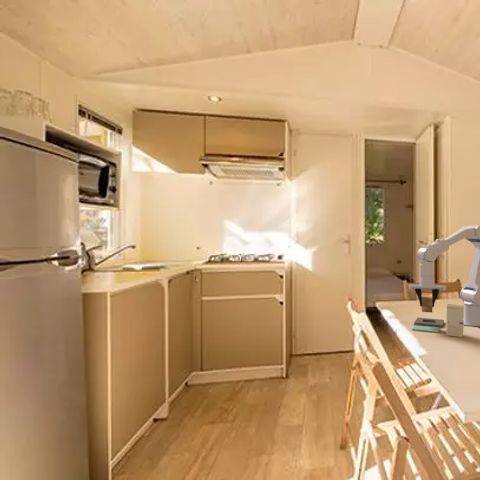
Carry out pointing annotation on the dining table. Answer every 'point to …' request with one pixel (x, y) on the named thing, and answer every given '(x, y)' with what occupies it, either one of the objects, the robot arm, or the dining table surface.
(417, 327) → the mat
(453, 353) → the dining table surface
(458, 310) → the skincare box
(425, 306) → the brown block
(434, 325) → the socket plate
